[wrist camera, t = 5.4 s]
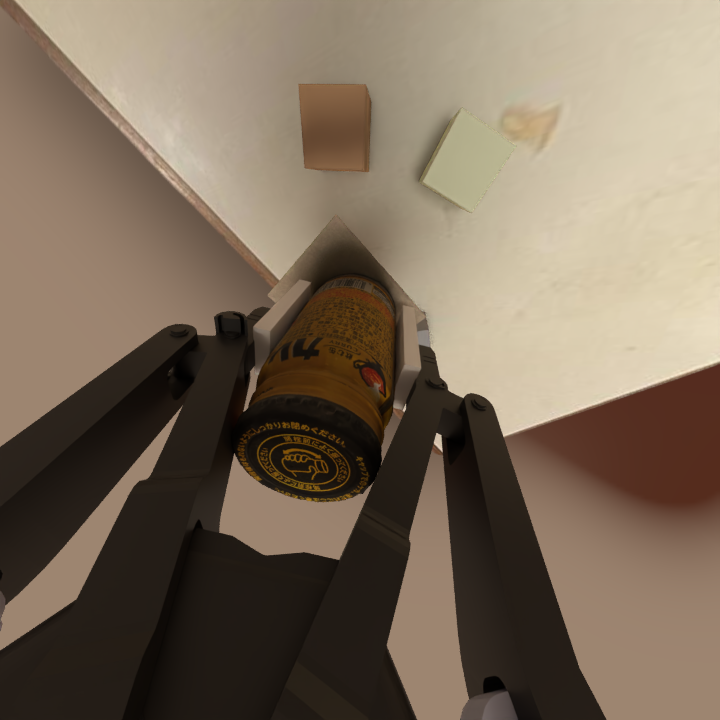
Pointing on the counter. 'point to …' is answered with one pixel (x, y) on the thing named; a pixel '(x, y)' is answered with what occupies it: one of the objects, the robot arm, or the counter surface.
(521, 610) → the robot arm
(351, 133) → the walnut cube
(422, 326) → the slate cube
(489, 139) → the sage cube
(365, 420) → the condiment
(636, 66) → the counter surface
